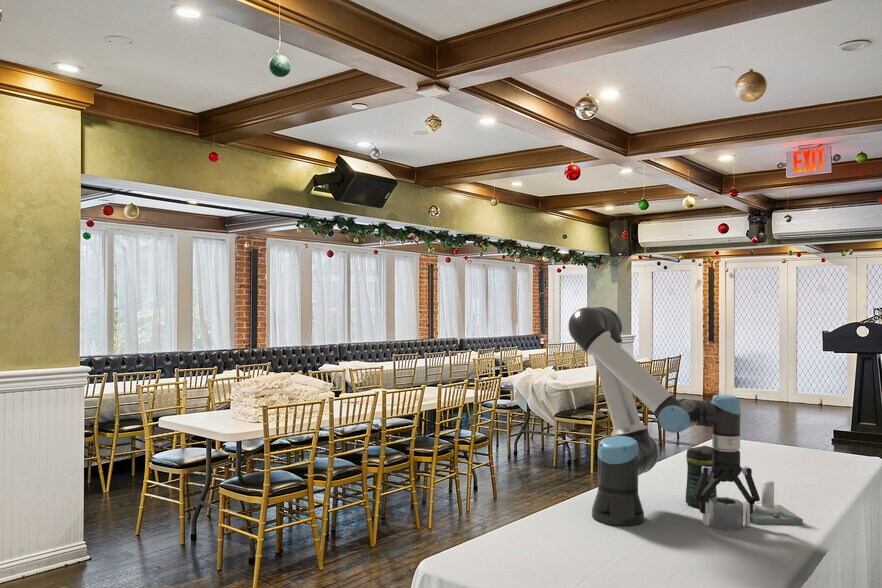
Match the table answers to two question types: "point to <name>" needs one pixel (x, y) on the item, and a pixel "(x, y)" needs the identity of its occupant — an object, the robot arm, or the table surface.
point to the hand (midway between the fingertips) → (726, 524)
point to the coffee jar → (698, 472)
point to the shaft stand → (772, 509)
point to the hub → (726, 513)
